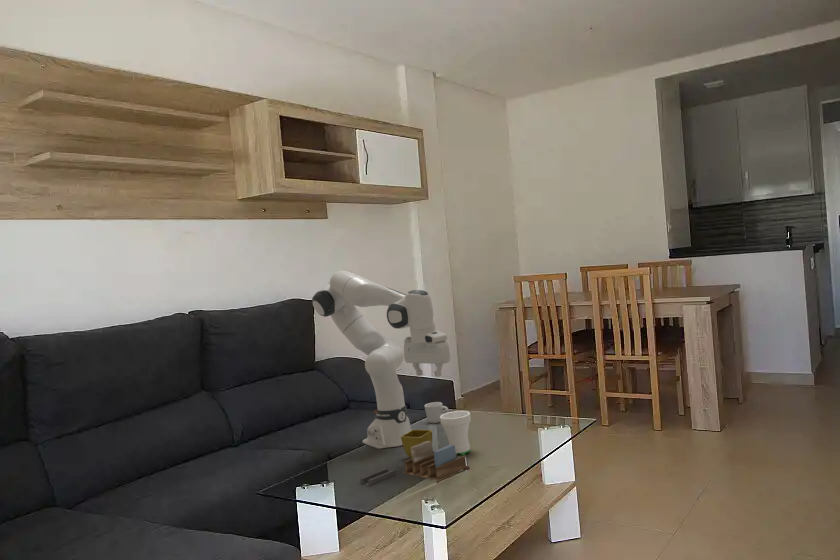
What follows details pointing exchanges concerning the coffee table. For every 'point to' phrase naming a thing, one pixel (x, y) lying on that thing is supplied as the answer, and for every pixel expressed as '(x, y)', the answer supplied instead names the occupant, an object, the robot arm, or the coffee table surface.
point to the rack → (432, 464)
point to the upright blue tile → (444, 455)
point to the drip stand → (378, 477)
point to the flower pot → (415, 439)
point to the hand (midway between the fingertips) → (428, 375)
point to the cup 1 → (434, 411)
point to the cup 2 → (457, 429)
